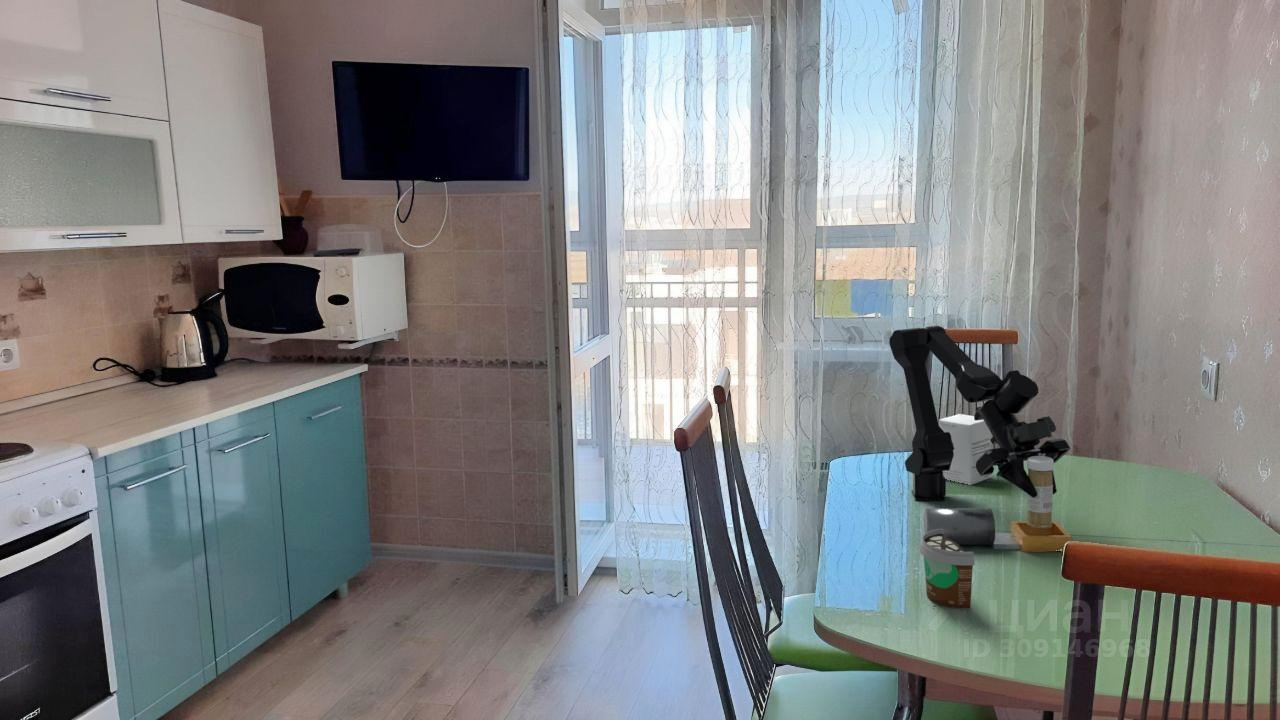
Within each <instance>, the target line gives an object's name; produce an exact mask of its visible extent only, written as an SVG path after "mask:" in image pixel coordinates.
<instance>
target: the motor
mask: <svg viewBox="0 0 1280 720" xmlns="http://www.w3.org/2000/svg"><path fill="white" fill-rule="evenodd" d="M993 512H994V511H993V510H992V508H991V507H925V508H924V511H923V531H924V534H925V533H927V532H929V531H933V530H937V529H943V533H944V535H945V536H946V537H947V538H948V539H950V540H952V541H954V542H956V543H957V544H958V545H968V546H969V545H971V546H973V545H978V546H979V545H983V546H985V545H988V546H989V545H990V546H991V547H992V549H994V550H1020V551H1021V552H1022V553H1048V552H1047V551H1056V550H1057V551H1058V550H1059V551H1060V549H1062V551H1061V552H1060V553H1064V552H1063V547H1064V544H1065V543H1066V542H1067V541H1071V542H1072V535H1070V534H1069V533H1068V532H1067V530H1066V529H1065V528H1063V526H1061V524H1060V523H1059V522H1058V521H1051V522H1052V527H1050V528H1048V529H1037V528H1033V527H1030V526H1028V525H1027V521H1013V520H1012V521H1010V533H1004V532H1003V533H1002V532H1001V533H1000V532H999V533H998V532H996V522H995V517H994V513H993ZM1044 551H1046V552H1044Z"/></svg>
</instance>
